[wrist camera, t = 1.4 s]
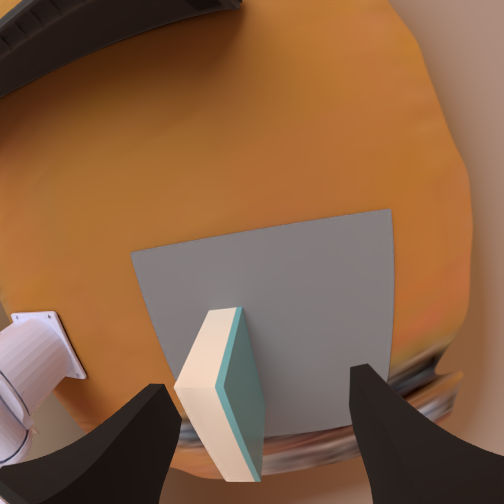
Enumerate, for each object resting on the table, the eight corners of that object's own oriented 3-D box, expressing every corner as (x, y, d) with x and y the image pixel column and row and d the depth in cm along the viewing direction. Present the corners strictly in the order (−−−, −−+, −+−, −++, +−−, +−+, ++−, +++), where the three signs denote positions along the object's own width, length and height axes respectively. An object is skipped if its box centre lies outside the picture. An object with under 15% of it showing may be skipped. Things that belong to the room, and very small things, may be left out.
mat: (204, 434, 24) (203, 437, 23) (132, 251, 19) (130, 253, 18) (379, 414, 21) (380, 417, 21) (388, 208, 16) (391, 209, 16)
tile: (238, 407, 21) (226, 481, 14) (208, 310, 19) (173, 387, 11) (265, 405, 21) (260, 481, 13) (242, 306, 19) (223, 386, 11)
